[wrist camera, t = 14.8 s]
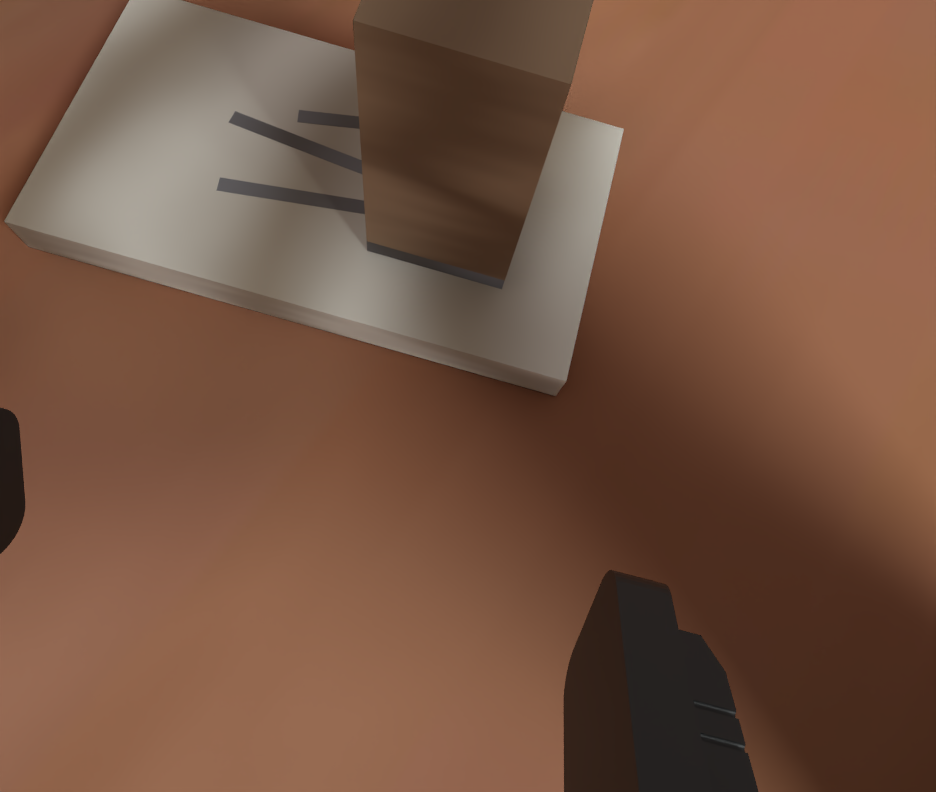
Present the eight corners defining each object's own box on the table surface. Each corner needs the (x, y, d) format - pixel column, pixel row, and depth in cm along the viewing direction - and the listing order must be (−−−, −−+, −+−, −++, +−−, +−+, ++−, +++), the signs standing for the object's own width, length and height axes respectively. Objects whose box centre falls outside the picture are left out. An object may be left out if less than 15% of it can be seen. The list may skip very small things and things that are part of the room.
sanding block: (535, 164, 24) (616, -88, 15) (501, 289, 22) (571, 83, 14) (410, 128, 24) (421, -147, 15) (367, 250, 22) (352, 20, 14)
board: (611, 155, 26) (623, 128, 25) (555, 396, 23) (566, 381, 21) (150, 21, 26) (136, -13, 24) (28, 246, 23) (3, 221, 21)
